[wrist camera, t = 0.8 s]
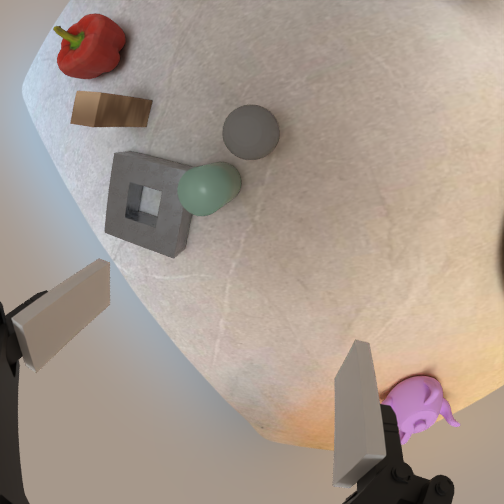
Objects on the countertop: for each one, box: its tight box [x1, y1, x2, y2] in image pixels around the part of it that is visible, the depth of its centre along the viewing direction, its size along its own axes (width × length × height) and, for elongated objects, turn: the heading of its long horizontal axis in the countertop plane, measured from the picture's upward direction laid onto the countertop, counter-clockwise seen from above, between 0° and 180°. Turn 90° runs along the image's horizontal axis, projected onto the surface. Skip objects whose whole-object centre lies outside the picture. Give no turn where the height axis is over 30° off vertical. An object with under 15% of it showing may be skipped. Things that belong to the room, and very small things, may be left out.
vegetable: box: [54, 14, 125, 79], centre depth 31 cm, size 11×10×10 cm
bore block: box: [105, 151, 195, 258], centre depth 41 cm, size 12×12×4 cm
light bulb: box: [223, 105, 280, 160], centre depth 32 cm, size 6×6×10 cm
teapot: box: [381, 376, 460, 444], centre depth 42 cm, size 12×14×9 cm
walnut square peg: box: [70, 91, 152, 127], centre depth 33 cm, size 4×4×12 cm
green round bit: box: [178, 162, 241, 216], centre depth 36 cm, size 6×6×8 cm
